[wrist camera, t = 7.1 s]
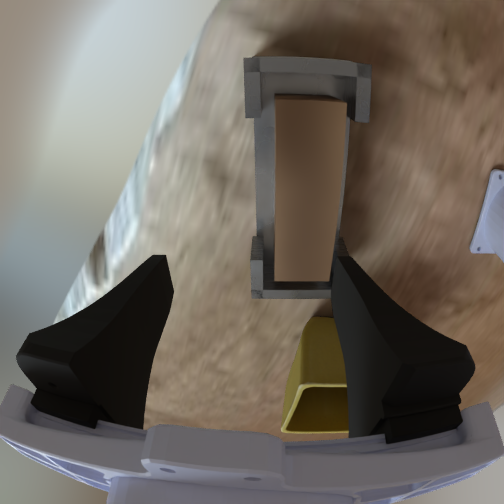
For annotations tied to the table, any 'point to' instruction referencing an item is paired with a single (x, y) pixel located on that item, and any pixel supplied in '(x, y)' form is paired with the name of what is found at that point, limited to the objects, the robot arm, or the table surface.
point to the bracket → (262, 110)
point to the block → (307, 184)
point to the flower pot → (317, 383)
